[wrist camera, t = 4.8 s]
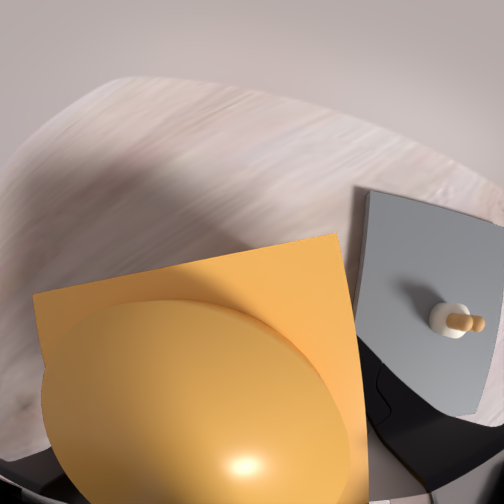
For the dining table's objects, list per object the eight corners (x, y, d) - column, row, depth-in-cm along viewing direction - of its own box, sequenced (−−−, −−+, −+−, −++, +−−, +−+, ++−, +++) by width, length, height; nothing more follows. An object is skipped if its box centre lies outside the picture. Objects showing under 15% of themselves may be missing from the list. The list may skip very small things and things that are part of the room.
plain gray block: (468, 409, 15) (503, 430, 10) (328, 413, 16) (344, 450, 11) (498, 230, 16) (539, 218, 11) (365, 195, 17) (393, 166, 12)
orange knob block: (309, 371, 16) (379, 546, 3) (210, 386, 16) (95, 543, 3) (291, 272, 17) (353, 217, 3) (191, 291, 17) (-2, 293, 4)
